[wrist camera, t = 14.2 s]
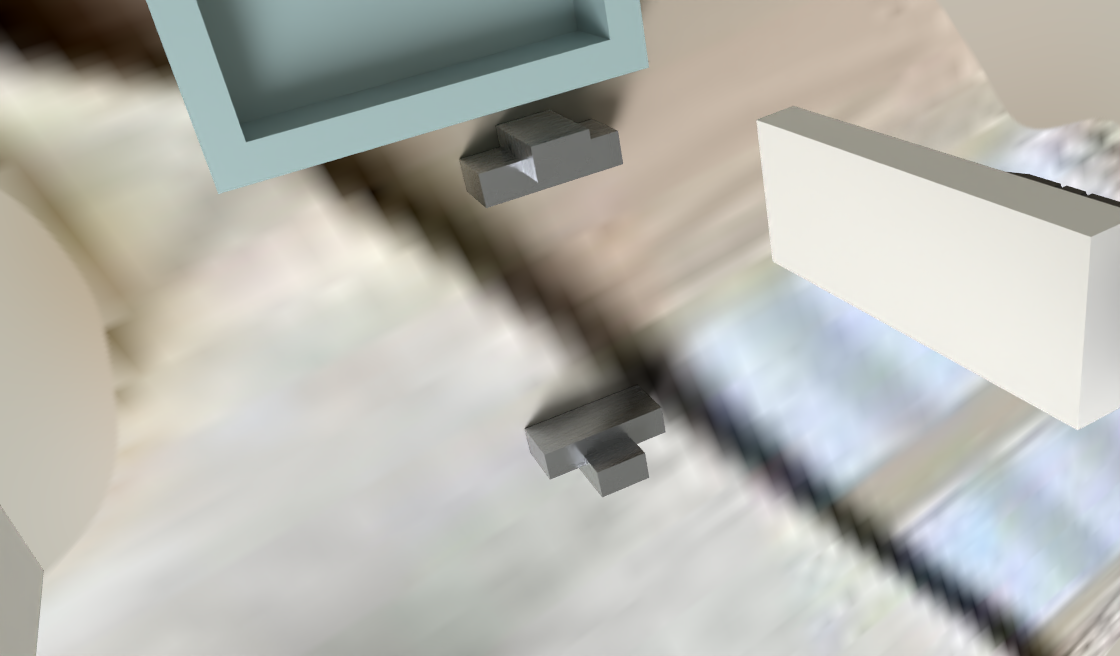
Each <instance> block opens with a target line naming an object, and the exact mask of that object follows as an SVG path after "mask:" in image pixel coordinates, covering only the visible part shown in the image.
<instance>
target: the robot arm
mask: <svg viewBox="0 0 1120 656" xmlns="http://www.w3.org/2000/svg"><path fill="white" fill-rule="evenodd" d="M756 121H757V129H758V138H759V146H760V155H761V164H762V172H763V181H764V190H765V198H766V207H767V215H768V224H769V233H770V241H771V250H772V259H773V262H775V263H777V264H778V265H780V266H782V267H784V268H786V269H787V270H789V271H791V272H793V273H795V274H796V275H798V276H800V277H802V278H804V279H805V280H807V281H809V282H811V283H813V284H814V285H816V286H818V287H820V288H822V289H824V290H825V291H827V292H829V293H831V294H833V295H834V296H836V297H838V298H840V299H842V300H843V301H845V302H847V303H849V304H851V305H852V306H854V307H856V308H858V309H860V310H861V311H863V312H865V313H867V314H869V315H870V316H872V317H874V318H876V319H878V320H879V321H881V322H883V323H885V324H887V325H889V326H890V327H892V328H894V329H896V330H898V331H899V332H901V333H903V334H905V335H907V336H908V337H910V338H912V339H914V340H916V341H917V342H919V343H921V344H923V345H925V346H926V347H928V348H930V349H932V350H934V351H935V352H937V353H939V354H941V355H943V356H945V357H946V358H948V359H950V360H952V361H954V362H955V363H957V364H959V365H961V366H963V367H964V368H966V369H968V370H970V371H972V372H973V373H975V374H977V375H979V376H981V377H982V378H984V379H986V380H988V381H990V382H991V383H993V384H995V385H997V386H999V387H1000V388H1002V389H1004V390H1006V391H1008V392H1010V393H1011V394H1013V395H1015V396H1017V397H1019V398H1020V399H1022V400H1024V401H1026V402H1028V403H1029V404H1031V405H1033V406H1035V407H1037V408H1038V409H1040V410H1042V411H1044V412H1046V413H1047V414H1049V415H1051V416H1053V417H1055V418H1056V419H1058V420H1060V421H1062V422H1064V423H1066V424H1067V425H1069V426H1071V427H1073V428H1075V429H1076V430H1079V429H1081V428H1083V427H1085V426H1087V425H1089V424H1090V423H1092V422H1094V421H1096V420H1098V419H1100V418H1102V417H1104V416H1106V415H1107V414H1109V413H1111V412H1113V411H1115V410H1117V409H1119V408H1120V202H1118V201H1115V200H1112V199H1109V198H1105V197H1102V196H1099V195H1095V194H1090V195H1087V194H1086V191H1082V190H1079V189H1076V188H1073V187H1069V186H1065V187H1063V188H1062V187H1061V184H1059V183H1056V182H1053V181H1050V180H1046V179H1043V178H1040V177H1037V176H1033V175H1030V174H1022V173H1012V172H1004V171H1001V170H998V169H994V168H991V167H988V166H985V165H982V164H978V163H975V162H972V161H969V160H965V159H962V158H959V157H956V156H953V155H949V154H946V153H943V152H940V151H937V150H933V149H930V148H927V147H924V146H920V145H917V144H914V143H911V142H908V141H904V140H901V139H898V138H895V137H892V136H888V135H885V134H882V133H879V132H875V131H872V130H869V129H866V128H863V127H859V126H856V125H853V124H850V123H847V122H843V121H840V120H837V119H834V118H830V117H827V116H824V115H821V114H818V113H814V112H811V111H808V110H805V109H801V108H798V107H795V106H792V107H789V108H787V109H784V110H781V111H779V112H776V113H774V114H771V115H768V116H766V117H763V118H760V119H758V120H756ZM43 573H44V570H43V568H42V567H41V565H40V564H39V562H38V561H37V560H36V558H35V557H34V555H33V554H32V552H31V550H30V549H29V547H28V546H27V544H26V543H25V541H24V540H23V538H22V537H21V535H20V534H19V532H18V531H17V529H16V528H15V526H14V525H13V523H12V522H11V520H10V519H9V517H8V516H7V514H6V513H5V511H4V510H3V508H2V507H1V505H0V656H36V649H37V638H38V627H39V616H40V606H41V595H42V584H43Z"/></svg>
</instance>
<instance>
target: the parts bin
mask: <svg viewBox="0 0 1120 656" xmlns="http://www.w3.org/2000/svg"><path fill="white" fill-rule="evenodd" d="M146 1H147V4H148V7H149V9H150V12H151V15H152V17H153V20H154V23H155V25H156V28H157V31H158V33H159V36H160V39H161V41H162V44H163V47H164V49H165V52H166V55H167V57H168V60H169V63H170V65H171V68H172V71H173V73H174V76H175V79H176V81H177V84H178V87H179V89H180V92H181V95H182V97H183V100H184V103H185V105H186V108H187V111H188V113H189V116H190V119H191V121H192V124H193V127H194V129H195V132H196V135H197V137H198V140H199V143H200V146H201V148H202V151H203V154H204V156H205V159H206V162H207V164H208V167H209V170H210V172H211V175H212V178H213V180H214V183H215V186H216V188H217V191H218V194H220V193H223V192H227V191H230V190H233V189H237V188H240V187H244V186H247V185H250V184H254V183H257V182H261V181H264V180H267V179H271V178H274V177H278V176H281V175H284V174H288V173H291V172H295V171H298V170H301V169H305V168H308V167H312V166H315V165H318V164H322V163H325V162H329V161H332V160H335V159H339V158H342V157H346V156H349V155H352V154H356V153H359V152H363V151H366V150H369V149H373V148H376V147H380V146H383V145H387V144H390V143H393V142H397V141H400V140H404V139H407V138H410V137H414V136H417V135H421V134H424V133H427V132H431V131H434V130H438V129H441V128H444V127H448V126H451V125H455V124H458V123H461V122H465V121H468V120H472V119H475V118H478V117H482V116H485V115H489V114H492V113H495V112H499V111H502V110H506V109H509V108H512V107H516V106H519V105H523V104H526V103H529V102H533V101H536V100H540V99H543V98H546V97H550V96H553V95H557V94H560V93H563V92H567V91H570V90H574V89H577V88H580V87H584V86H587V85H591V84H594V83H597V82H601V81H604V80H608V79H611V78H614V77H618V76H621V75H625V74H628V73H631V72H635V71H638V70H642V69H645V68H648V67H649V65H648V58H647V51H646V43H645V36H644V29H643V22H642V14H641V7H640V0H146Z"/></svg>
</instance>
